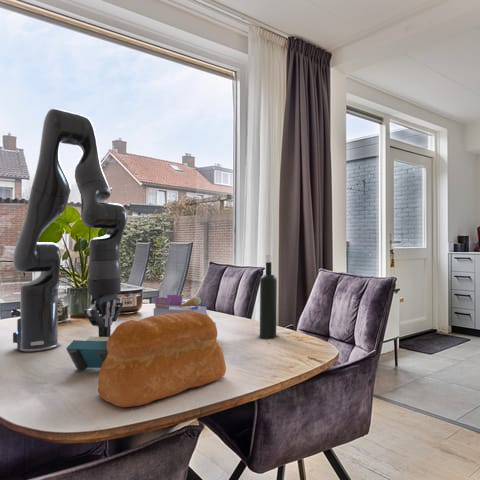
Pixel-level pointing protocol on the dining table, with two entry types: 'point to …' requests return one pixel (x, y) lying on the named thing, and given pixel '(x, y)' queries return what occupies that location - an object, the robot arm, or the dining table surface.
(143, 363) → the bread
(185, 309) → the toy vehicle
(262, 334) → the wine bottle
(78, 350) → the teal block
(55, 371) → the dining table surface
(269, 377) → the dining table surface
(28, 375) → the dining table surface
